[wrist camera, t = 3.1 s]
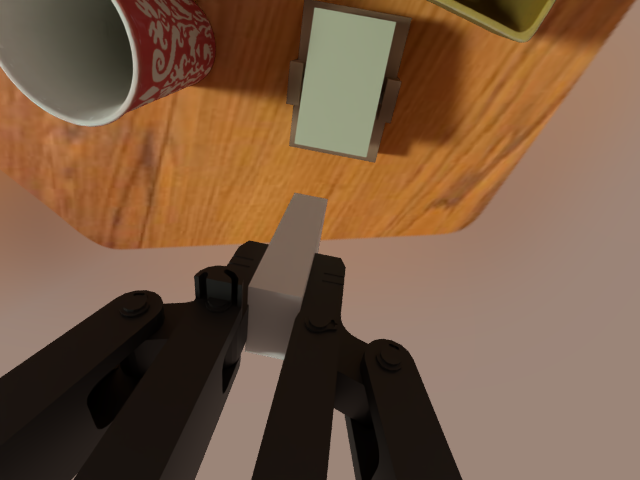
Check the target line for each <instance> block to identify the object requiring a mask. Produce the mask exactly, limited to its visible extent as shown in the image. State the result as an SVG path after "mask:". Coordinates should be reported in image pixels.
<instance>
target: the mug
mask: <svg viewBox="0 0 640 480" xmlns="http://www.w3.org/2000/svg"><path fill="white" fill-rule="evenodd" d="M215 52H216V46H215V38H214V33H213V31H212V28H211V25H210V23H209V21H208V19H207V17H206V16H205V14H204V13H203V11H202V10H201V9H200V8H199V7H198V6H197V4H196V3H195V2H194V1H192V0H0V66H1V68H2V69H3V71H4V72H5V74H6V75H7V76H8V77H9V79H10V80H11V81H12V82H13V83H14V84H15V85H16V86H17V88H18V89H19V90H20V91H21V92H22V93H23V94H24V95H26V96H27V97H28V98H29V99H30V100H31V101H32V102H34V103H35V104H36V105H38V106H39V107H40V108H42V109H43V110H45V111H46V112H48V113H50V114H51V115H53V116H55V117H57V118H59V119H62V120H64V121H67V122H69V123H73V124H76V125H80V126H89V127H96V126H103V125H106V124H109V123H112V122H114V121H116V120H117V119H119V118H120V117H122V116H123V115H124V114H125V113H127V112H129V111H132V110H134V109H137V108H139V107H141V106H144V105H146V104H148V103H150V102H153V101H155V100H157V99H160V98H162V97H165V96H167V95H169V94H172V93H174V92H176V91H179V90H181V89H183V88H186V87H188V86H191V85H193V84H195V83H197V82H199V81H201V80H202V79H203V78H204V77H205V76H206V75H207V74H208V73H209V71H210V70H211V68H212V65H213V63H214V59H215Z"/></svg>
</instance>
